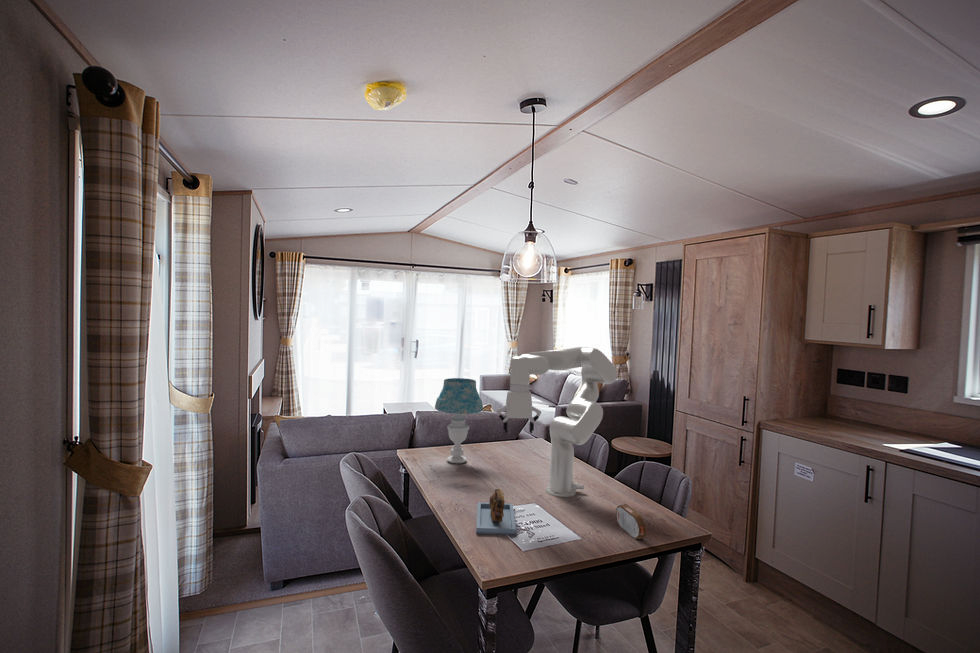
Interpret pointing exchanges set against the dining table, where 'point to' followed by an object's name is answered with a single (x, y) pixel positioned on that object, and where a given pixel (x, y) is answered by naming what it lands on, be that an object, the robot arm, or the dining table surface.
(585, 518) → the dining table surface
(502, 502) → the wooden carving
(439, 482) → the dining table surface
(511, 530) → the tray
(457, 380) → the table lamp
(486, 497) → the dining table surface
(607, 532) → the dining table surface
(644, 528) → the tin
